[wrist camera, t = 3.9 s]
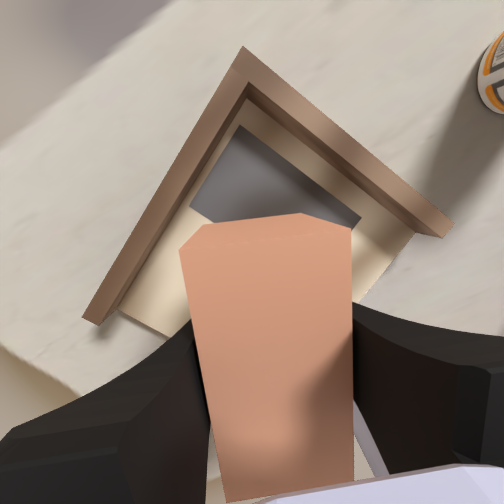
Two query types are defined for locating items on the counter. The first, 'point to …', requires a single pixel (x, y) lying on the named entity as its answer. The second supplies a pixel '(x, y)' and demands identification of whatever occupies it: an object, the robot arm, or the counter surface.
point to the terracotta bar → (275, 350)
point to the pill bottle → (493, 76)
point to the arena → (261, 194)
